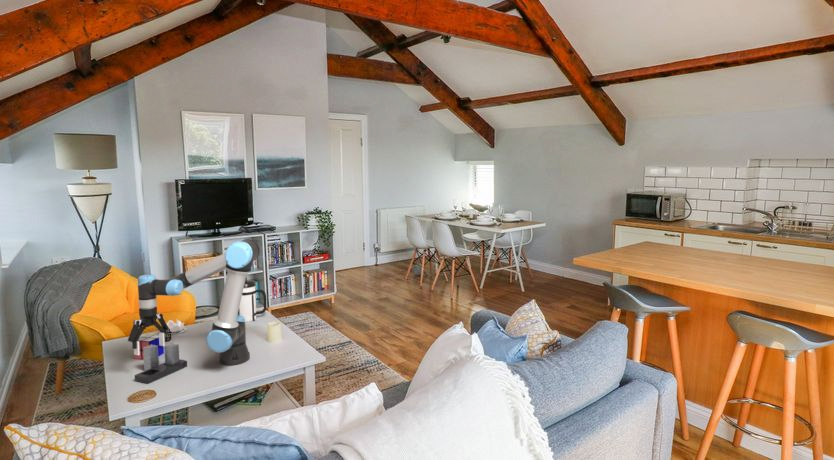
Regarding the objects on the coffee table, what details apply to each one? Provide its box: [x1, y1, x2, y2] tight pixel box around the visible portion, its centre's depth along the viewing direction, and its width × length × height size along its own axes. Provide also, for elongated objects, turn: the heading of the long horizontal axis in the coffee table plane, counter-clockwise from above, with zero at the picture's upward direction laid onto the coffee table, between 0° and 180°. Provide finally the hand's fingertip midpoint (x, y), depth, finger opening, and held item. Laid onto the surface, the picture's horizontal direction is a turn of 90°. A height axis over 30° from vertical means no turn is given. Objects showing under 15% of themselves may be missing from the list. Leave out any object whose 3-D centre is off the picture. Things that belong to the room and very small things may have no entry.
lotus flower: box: [166, 319, 188, 335], centre depth 285 cm, size 14×15×9 cm
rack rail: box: [134, 358, 188, 385], centre depth 226 cm, size 8×22×3 cm, turn 158°
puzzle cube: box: [133, 334, 165, 361], centre depth 248 cm, size 10×10×10 cm
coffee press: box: [238, 276, 267, 323], centre depth 307 cm, size 17×16×30 cm
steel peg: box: [143, 345, 160, 371], centre depth 230 cm, size 4×4×12 cm
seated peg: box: [164, 343, 180, 366], centre depth 231 cm, size 4×4×12 cm
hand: (149, 350), depth 229 cm, fingers open, 13 cm apart
